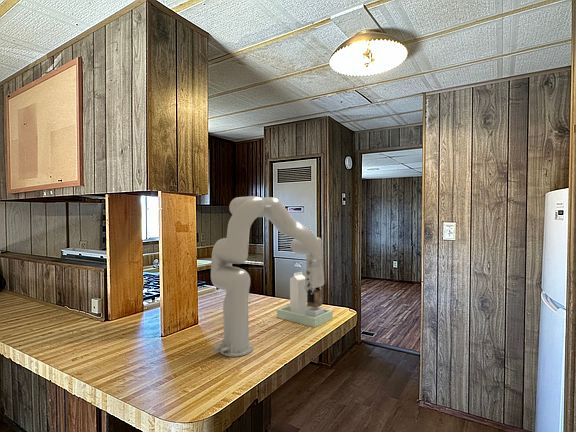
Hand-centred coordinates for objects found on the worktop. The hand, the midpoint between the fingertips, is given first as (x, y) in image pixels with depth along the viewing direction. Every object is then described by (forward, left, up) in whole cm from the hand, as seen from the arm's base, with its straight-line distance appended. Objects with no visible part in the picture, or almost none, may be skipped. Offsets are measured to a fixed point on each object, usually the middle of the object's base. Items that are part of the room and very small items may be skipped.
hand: (314, 300), depth 159 cm
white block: (0, 0, -10) cm, 10 cm away
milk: (+2, +11, -10) cm, 15 cm away
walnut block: (0, 0, -2) cm, 2 cm away
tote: (+1, +6, -10) cm, 12 cm away
